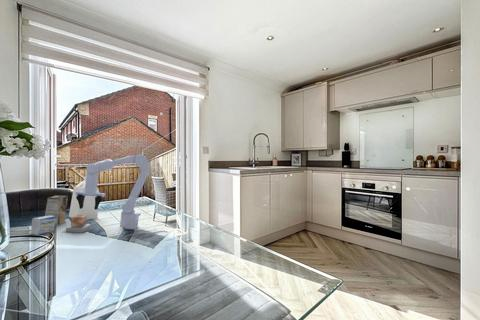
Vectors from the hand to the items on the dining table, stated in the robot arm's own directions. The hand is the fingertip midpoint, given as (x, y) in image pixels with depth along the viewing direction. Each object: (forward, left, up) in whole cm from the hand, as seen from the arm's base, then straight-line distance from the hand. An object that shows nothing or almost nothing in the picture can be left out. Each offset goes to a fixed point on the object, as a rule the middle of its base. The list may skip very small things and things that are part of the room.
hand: (88, 208), depth 130 cm
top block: (0, +9, -9) cm, 13 cm away
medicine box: (+13, +15, -11) cm, 23 cm away
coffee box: (+16, 0, -11) cm, 19 cm away
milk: (+11, -20, -11) cm, 25 cm away
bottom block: (0, +9, -11) cm, 14 cm away
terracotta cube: (0, +9, -7) cm, 11 cm away
